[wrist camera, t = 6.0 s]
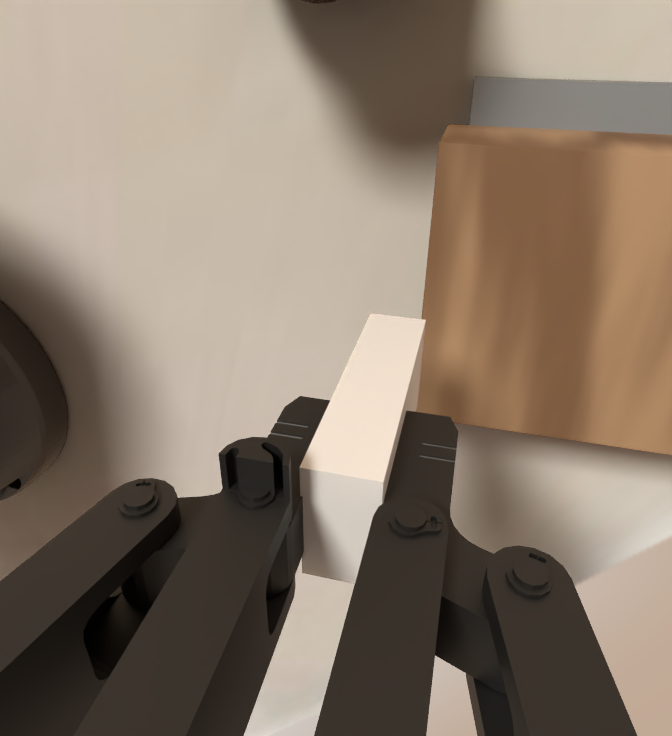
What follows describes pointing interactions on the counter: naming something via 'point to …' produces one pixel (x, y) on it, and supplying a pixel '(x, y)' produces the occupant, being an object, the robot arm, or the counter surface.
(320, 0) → the mate gourd
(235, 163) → the counter surface
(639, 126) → the mat
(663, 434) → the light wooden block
